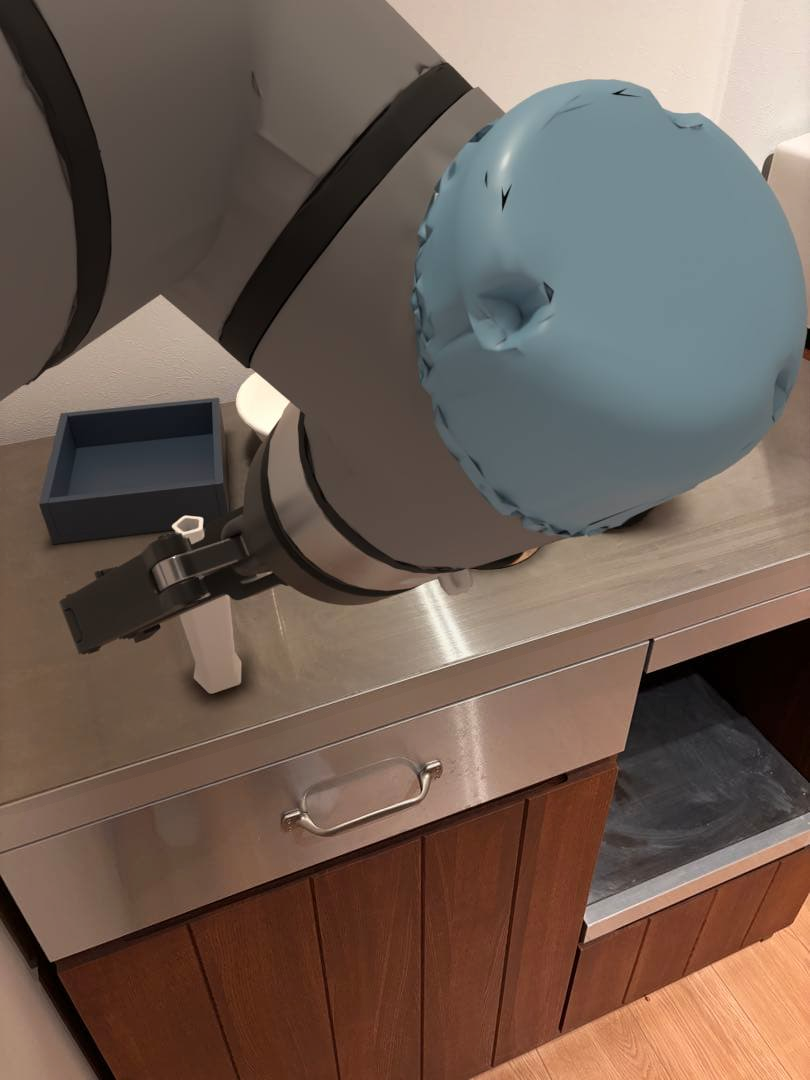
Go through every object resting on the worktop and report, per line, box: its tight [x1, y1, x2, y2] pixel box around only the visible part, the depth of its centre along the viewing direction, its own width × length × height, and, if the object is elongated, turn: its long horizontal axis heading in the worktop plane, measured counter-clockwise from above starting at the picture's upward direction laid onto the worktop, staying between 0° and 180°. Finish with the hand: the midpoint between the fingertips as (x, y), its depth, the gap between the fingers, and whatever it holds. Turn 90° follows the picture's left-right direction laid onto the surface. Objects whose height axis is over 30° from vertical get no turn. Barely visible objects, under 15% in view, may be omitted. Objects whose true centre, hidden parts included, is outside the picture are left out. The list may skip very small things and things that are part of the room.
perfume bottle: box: [172, 516, 243, 695], centre depth 63 cm, size 5×4×15 cm
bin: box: [38, 397, 230, 545], centre depth 87 cm, size 17×17×5 cm
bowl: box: [235, 371, 290, 443], centre depth 92 cm, size 20×20×6 cm
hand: (252, 572), depth 48 cm, fingers open, 13 cm apart
